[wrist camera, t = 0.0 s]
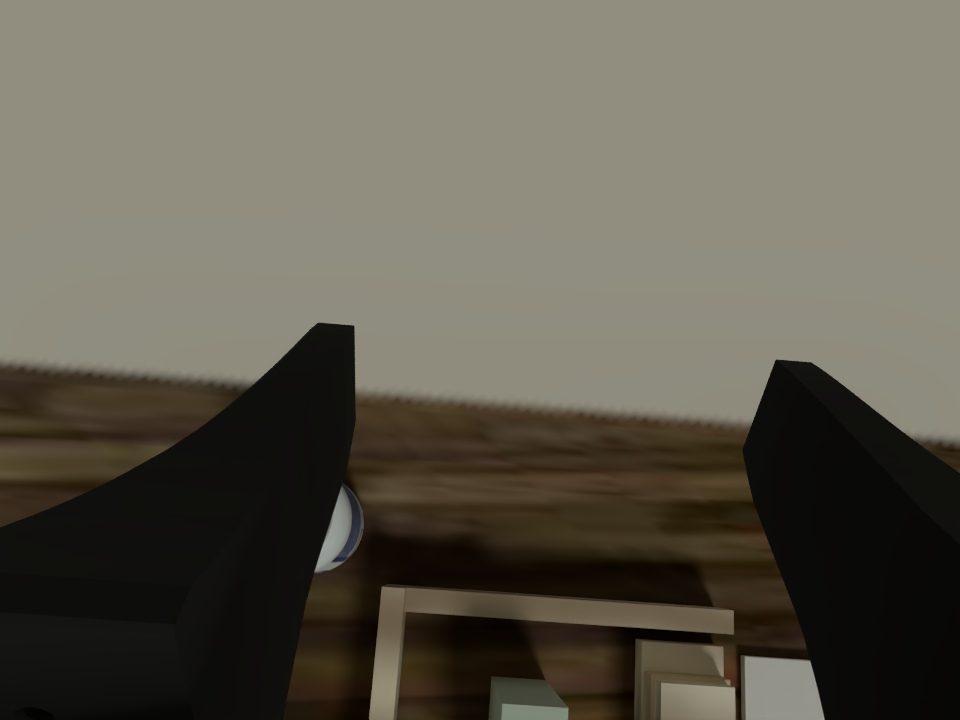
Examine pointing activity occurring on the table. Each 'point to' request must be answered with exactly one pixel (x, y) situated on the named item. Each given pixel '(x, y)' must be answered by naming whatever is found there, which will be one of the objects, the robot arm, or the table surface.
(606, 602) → the rack
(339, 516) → the pill bottle
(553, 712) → the green panel
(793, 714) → the grey pad
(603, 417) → the table surface
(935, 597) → the robot arm
